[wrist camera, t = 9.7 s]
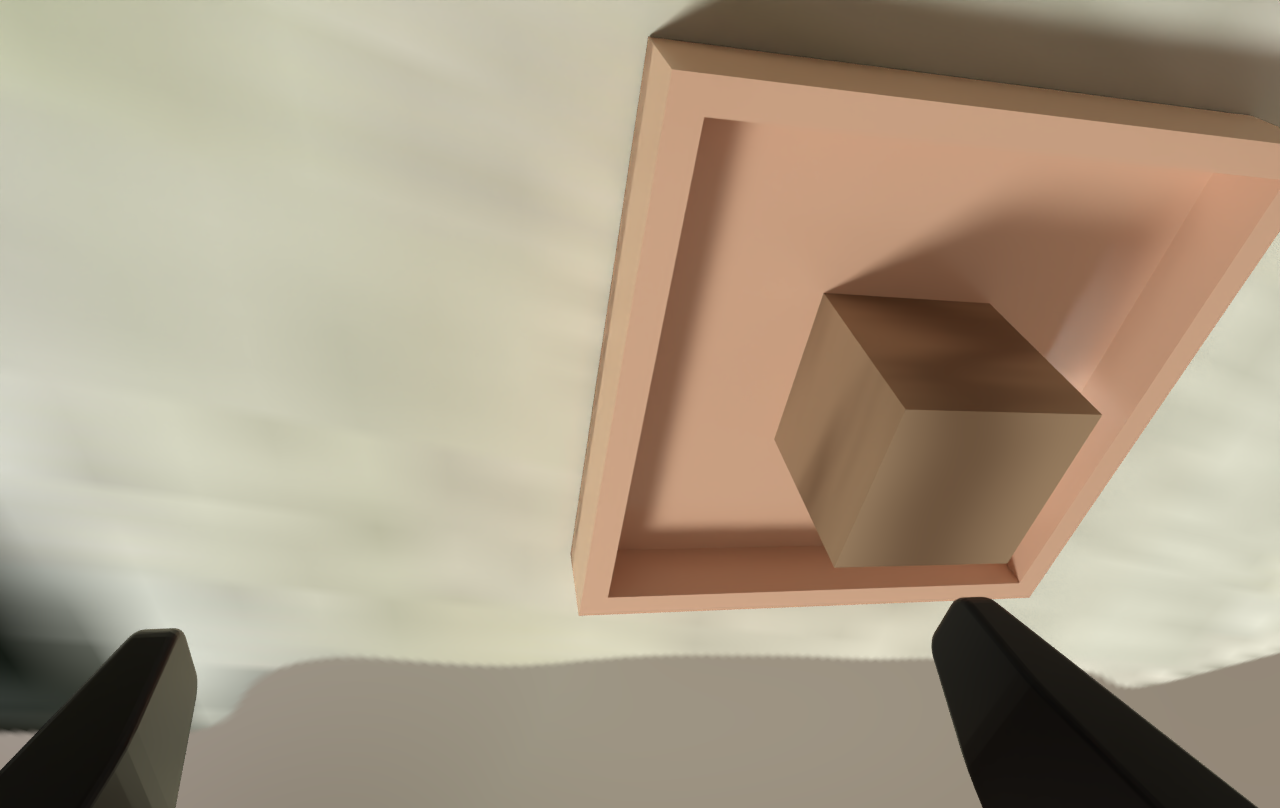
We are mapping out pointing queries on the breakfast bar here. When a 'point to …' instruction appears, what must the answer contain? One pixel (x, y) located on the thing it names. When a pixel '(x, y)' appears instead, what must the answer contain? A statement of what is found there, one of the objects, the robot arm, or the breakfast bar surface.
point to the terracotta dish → (888, 267)
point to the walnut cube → (925, 431)
